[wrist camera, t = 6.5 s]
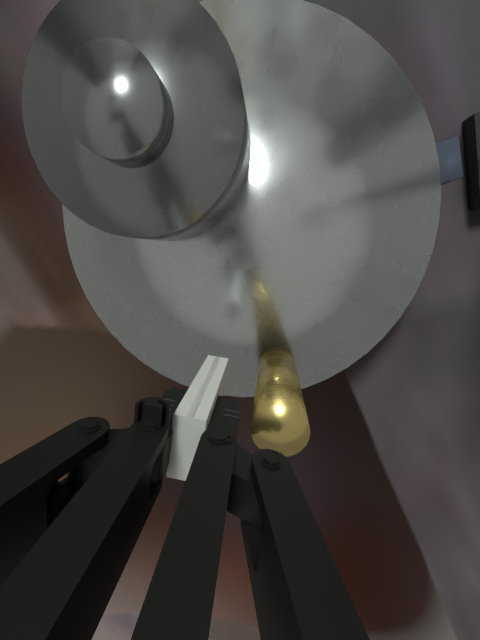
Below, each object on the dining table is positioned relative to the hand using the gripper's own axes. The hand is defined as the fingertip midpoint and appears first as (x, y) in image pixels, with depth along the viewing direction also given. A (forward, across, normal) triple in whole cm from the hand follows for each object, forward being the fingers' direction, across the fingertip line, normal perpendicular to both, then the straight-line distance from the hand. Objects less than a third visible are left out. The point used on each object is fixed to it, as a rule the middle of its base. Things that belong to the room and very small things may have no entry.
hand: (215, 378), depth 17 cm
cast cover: (+2, -5, +12) cm, 13 cm away
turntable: (+5, 0, +9) cm, 10 cm away
